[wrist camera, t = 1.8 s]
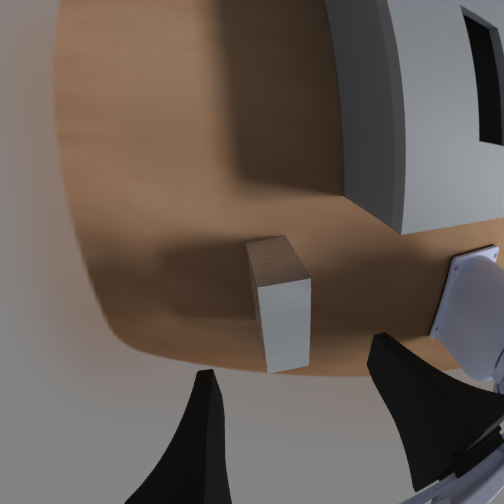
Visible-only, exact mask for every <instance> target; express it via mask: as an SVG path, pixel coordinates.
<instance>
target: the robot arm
mask: <svg viewBox="0 0 504 504" xmlns="http://www.w3.org/2000/svg"><path fill="white" fill-rule="evenodd" d="M498 251H499V247H498V246H497V245H494V246H491V247H487V248H484V249H481V250H477V251H474V252H470V253H467V254H463V255H459V256H456V257H454V258H453V260H452V262H451V266H450V270H449V274H448V278H447V282H446V286H445V289H444V293H443V296H442V299H441V303H440V306H439V309H438V312H437V315H436V318H435V321H434V324H433V326H432V329H431V332H430V335H429V337H430V338H431V339H434V338H436V337H437V338H438V339H439V340H440V341H441V343H442V344H443V345H444V346H445V347H446V349H447V350H448V351H449V352H450V354H451V355H452V356H453V358H454V359H455V360H456V361H457V363H458V364H459V365H460V367H461V368H462V369H463V370H464V372H465V373H466V374H467V375H469V376H470V377H472V378H473V379H475V380H478V381H490V380H492V379H494V380H495V384H494V388H493V392H490V391H487V390H483V389H480V388H477V387H474V386H471V385H468V384H466V383H463V382H461V381H459V380H457V379H455V378H452V377H451V376H448V375H447V374H445V373H443V372H441V371H439V370H438V369H436V368H435V367H433V366H431V365H430V364H428V363H427V362H425V361H424V360H422V359H421V358H419V357H418V356H417V355H415V354H414V353H412V352H411V351H410V350H408V349H407V348H406V347H404V346H403V345H402V344H400V343H399V342H398V341H396V340H395V339H394V338H392V337H391V336H390V335H388V334H387V333H386V332H383V333H380V334H377V335H374V336H373V341H372V345H371V349H370V353H369V357H368V361H367V367H368V369H369V372H370V375H371V377H372V380H373V382H374V384H375V386H376V388H377V389H378V391H379V393H380V395H381V397H382V398H383V400H384V402H385V404H386V406H387V408H388V409H389V411H390V413H391V415H392V417H393V419H394V421H395V423H396V426H397V429H398V431H399V434H400V437H401V440H402V443H403V446H404V449H405V452H406V456H407V460H408V464H409V468H410V473H411V479H412V485H413V488H414V490H415V492H418V491H419V490H421V489H423V488H425V487H427V486H429V485H430V484H432V483H434V482H435V481H437V480H439V482H438V483H437V484H435V485H433V486H432V487H430V488H428V489H426V490H425V491H423V492H421V493H419V494H417V495H415V496H414V497H411V498H410V499H408V500H406V501H404V502H402V503H399V504H424V503H426V502H427V501H429V500H431V499H432V501H431V504H488V503H489V502H490V501H491V500H492V499H493V498H494V497H495V496H496V495H497V494H498V493H499V492H500V491H501V489H502V488H503V487H504V433H503V434H502V435H501V434H500V433H499V432H500V431H501V427H500V425H499V424H500V423H501V422H502V421H503V420H504V269H503V268H502V267H500V266H499V265H498V264H496V263H495V262H496V258H497V255H498ZM124 504H232V502H231V496H230V490H229V484H228V478H227V471H226V461H225V416H224V407H223V399H222V394H221V391H220V388H219V386H218V383H217V380H216V377H215V374H214V371H213V369H209V370H200V371H198V372H197V374H196V379H195V382H194V386H193V389H192V392H191V395H190V398H189V401H188V404H187V407H186V409H185V412H184V415H183V417H182V419H181V421H180V424H179V426H178V428H177V430H176V433H175V435H174V437H173V438H172V441H171V442H170V444H169V446H168V448H167V449H166V451H165V453H164V454H163V456H162V457H161V459H160V461H159V462H158V464H157V465H156V467H155V468H154V469H153V471H152V472H151V473H150V475H149V476H148V477H147V478H146V480H145V481H144V482H143V483H142V485H141V486H140V487H139V488H138V489H137V490H136V491H135V492H134V493H133V494H132V495H131V496H130V498H128V499H127V500H126V502H125V503H124Z"/></svg>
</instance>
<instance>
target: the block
mask: <svg viewBox="0 0 504 504" xmlns="http://www.w3.org/2000/svg"><path fill="white" fill-rule="evenodd" d="M246 249H247V257H248V264H249V272H250V279H251V287H252V294H253V302H254V309H255V316H256V322H257V327H258V332H259V336H260V341H261V345H262V350H263V354H264V359H265V364H266V368H267V373H268V374H269V373H275V372H280V371H285V370H290V369H295V368H299V367H304V366H308V365H309V352H310V321H311V278H310V276H309V274H308V272H307V271H306V269H305V267H304V266H303V264H302V262H301V261H300V259H299V257H298V256H297V254H296V252H295V250H294V249H293V247H292V245H291V244H290V242H289V241H288V239H287V237H286V236H279V237H272V238H266V239H259V240H252V241H246Z"/></svg>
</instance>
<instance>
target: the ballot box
mask: <svg viewBox="0 0 504 504" xmlns="http://www.w3.org/2000/svg"><path fill="white" fill-rule="evenodd" d="M324 1H325V5H326V10H327V15H328V21H329V26H330V32H331V37H332V44H333V50H334V57H335V64H336V72H337V80H338V89H339V99H340V110H341V122H342V138H343V158H344V197H346V198H347V199H349V200H350V201H352V202H354V203H355V204H357V205H358V206H360V207H361V208H363V209H364V210H366V211H367V212H369V213H370V214H372V215H373V216H375V217H376V218H378V219H379V220H381V221H382V222H383V223H385V224H386V225H388V226H389V227H391V228H392V229H393V230H395V231H396V232H398V233H399V234H400V235H404V234H410V233H416V232H422V231H428V230H434V229H440V228H445V227H451V226H457V225H463V224H469V223H474V222H480V221H486V220H492V219H497V218H503V217H504V0H324Z"/></svg>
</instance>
